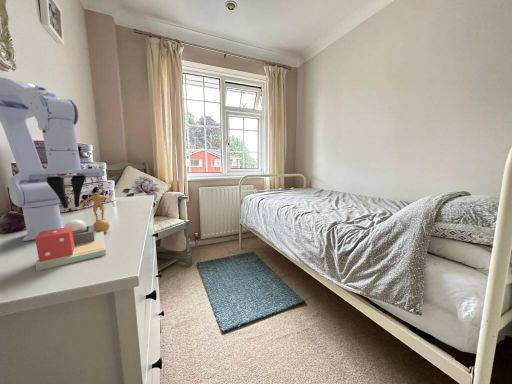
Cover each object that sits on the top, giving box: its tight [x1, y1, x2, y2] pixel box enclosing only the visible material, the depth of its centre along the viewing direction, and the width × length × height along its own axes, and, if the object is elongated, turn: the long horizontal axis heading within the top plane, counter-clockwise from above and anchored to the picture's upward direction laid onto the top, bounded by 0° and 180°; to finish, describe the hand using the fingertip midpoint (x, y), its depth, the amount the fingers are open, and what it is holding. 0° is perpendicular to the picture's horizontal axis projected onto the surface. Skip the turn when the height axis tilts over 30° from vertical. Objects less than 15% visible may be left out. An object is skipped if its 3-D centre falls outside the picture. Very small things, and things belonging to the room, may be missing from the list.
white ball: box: [63, 219, 88, 234], centre depth 52 cm, size 4×4×4 cm
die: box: [34, 227, 75, 262], centre depth 44 cm, size 5×5×5 cm
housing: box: [73, 224, 96, 245], centre depth 52 cm, size 7×7×2 cm
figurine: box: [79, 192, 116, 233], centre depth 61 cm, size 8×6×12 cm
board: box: [35, 231, 107, 272], centre depth 50 cm, size 16×11×1 cm
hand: (71, 207), depth 51 cm, fingers closed
